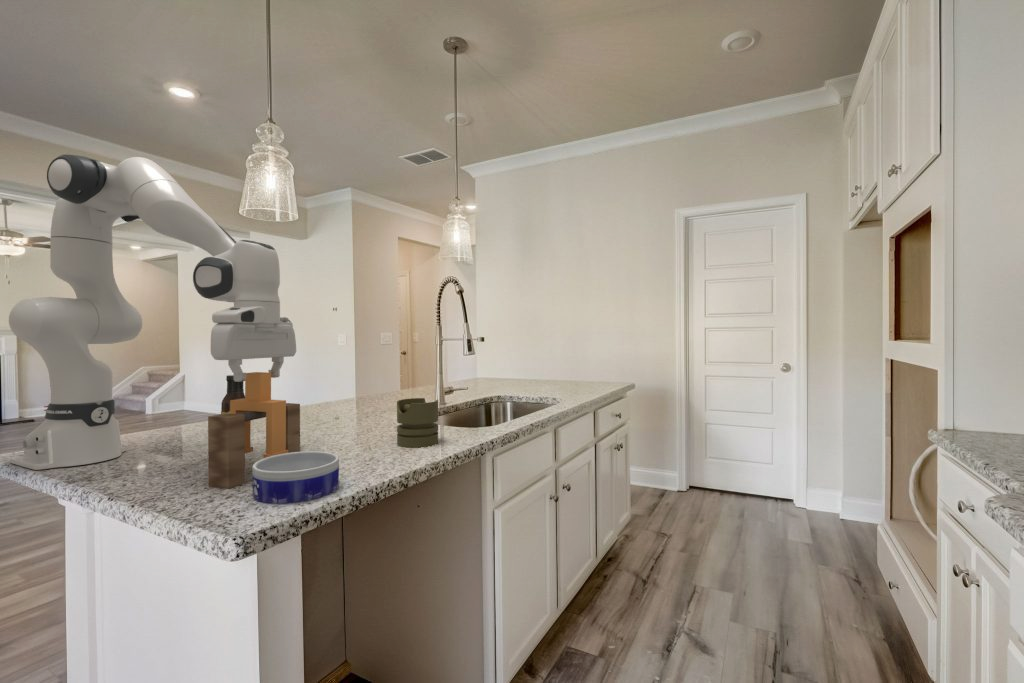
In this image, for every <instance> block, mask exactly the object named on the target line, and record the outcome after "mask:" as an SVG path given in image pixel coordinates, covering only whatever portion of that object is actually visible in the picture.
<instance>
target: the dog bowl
mask: <svg viewBox="0 0 1024 683" xmlns="http://www.w3.org/2000/svg"><path fill="white" fill-rule="evenodd" d="M251 471H252V494H253V496H252V497H253V498H254V500H255V501H257V502H260V503H263V504H270V505H272V504H273V505H274V504H275V505H285V504H296V503H304V502H309V501H312V500H317V499H321V498H323V497H326V496H328V495H330V494H332V493H334V492H336V490H338V489H339V488H338V487H339V476H340V458H339V455H337V454H336V453H333V452H328V451H320V450H319V451H318V450H317V451H314V450H311V451H310V450H309V451H308V450H307V451H306V450H305V451H300V452H292V453H285V454H279V455H274V456H270V457H267V458H264V459H263V458H261V459H259V460H257V461H255V462H254V463H253V464H252V468H251Z"/></svg>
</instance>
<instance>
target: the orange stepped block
mask: <svg viewBox="0 0 1024 683" xmlns="http://www.w3.org/2000/svg"><path fill="white" fill-rule="evenodd" d="M245 373H246V380H245V381H244V383H245V384H244V394H245V398H243V399H236V400H230V414H237V413H242V412H247V411H259V412H266V417H265V454H263V455H262V459H264V458H267V457H270V456H274V455H279V454H285V453H288V450H286V403H287V400H285V399H283V400H282V399H272V378H271V373H269V372H261V371H256V372H254V371H253V372H245ZM251 421H252V420H250V421H246V422H245V455H246V454H248V453H252V452H254V446H251Z"/></svg>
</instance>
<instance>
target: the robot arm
mask: <svg viewBox="0 0 1024 683" xmlns="http://www.w3.org/2000/svg"><path fill="white" fill-rule="evenodd" d="M46 180H47V184H48V186H49V188H50V191H52V193H53V194H54V195H55V196H57V197H58V199H57V201H56V203H55V205H54V206H55V207H54V210H53V212H52V219H51V226H50V247H49V248H50V260H49V261H50V263H49V264H50V270H51V272H52V273H53V274H54V276H56V277H57V278H58V279H59V280H62V281H63V282H66V283H67V284H68V285H69V286H71V288H72V289H73V291H74V293H75V297H76V298H71V297H59V296H58V297H56V296H43V297H34V298H33V297H32V298H24V299H22V300H20V301H19V302H17V303H16V304H15V305H14V306H13V307H12V308H11V309H10V312H9V315H8V326H9V328H10V330H11V332H12V333H13V335H14V336H16V338H18V339H19V340H21V341H22V342H24V343H26V344H27V345H29V346H31V347H32V348H33V349H34V350H35V351H36V352H37V353H38V354H39V355H40V357H41V358H42V360H43V361H44V363H45V366H46V368H47V371H48V376H49V377H48V378H49V388H50V389H49V390H50V391H49V392H50V403H49V404H48V405H45V406H43V408H46V409H44V410H43V411H44V412H45V415H44V419H45V420H44V421H43V422H41V423H40V424H39V425H38V426H37V427H35V429H33V430H32V431H31V432H29V434H27V435H26V436H25V439H23V441H22V449H23V454H21V455H17V456H14V457H11V458H10V459H9V464H13V465H16V466H20V467H23V468H27V469H31V470H34V471H36V470H37V471H39V470H46V469H54V468H65V467H75V466H76V467H77V466H81V465H82V466H83V465H90V464H96V463H100V462H105V461H109V460H112V459H116V458H119V457H121V456H122V453H124V452H126V447H125V446H122V438H121V431H120V423H119V420H118V419H116V418H115V416H114V414H115V413H116V404H115V399H113V371H112V369H111V367H110V366H109V365H108V364H106V363H105V362H103V361H102V360H98V359H96V358H95V357H94V356H93V355H92V354H91V352H90V350H89V346H88V345H109V344H110V345H113V344H119V343H123V342H128V341H132V340H134V339H136V338H137V337H138V336H139V335H140V333H141V331H142V329H143V318H142V315H141V313H140V311H139V310H138V309H137V308H136V307H135V306H134V305H132V304H131V303H130V302H129V301H127V299H126V298H125V297H124V295H123V294H122V292H121V290H120V289H119V287H118V284H117V282H116V279H115V274H114V263H113V262H114V261H113V260H114V259H113V225H114V223H115V222H116V221H117V220H118V219H119V218H121V220H123V221H124V222H126V223H130V222H134V221H136V220H141V221H142V222H144V223H145V224H146V225H147V226H148V227H149V228H150V229H152V230H153V231H154V232H156V233H158V234H160V235H163V236H166V237H169V238H172V239H175V240H179V241H182V242H185V243H188V244H190V245H193V246H195V247H198V248H199V249H202V250H203V251H206V252H207V253H208V254H210V256H206V257H203V259H201V260H200V261H199V262H198V263H197V264H196V265H195V267H194V269H193V274H192V282H193V287H194V289H195V291H196V292H197V293H198V294H199V295H200V297H202V298H204V299H208V300H210V301H211V300H212V301H217V302H225V303H233V306H231V307H229V308H225V309H221V310H218V311H215V312H213V313H212V316H211V320H212V322H213V324H214V325H213V326H212V329H211V331H210V355H211V356H212V358H213V359H214V360H215V361H228V366H229V368H230V370H231V372H232V373H233V375H234V381H235V382H241V381H244V382H245V380H246V373H247V372H243V369H242V367H241V365H243V360H249V359H250V360H253V359H271V363H272V366H271V368H270V369H268V373H271V379H274V378H280V373H281V371H280V370H281V368H282V366H283V365H284V361H285V360H284V359H285V358H287V357H294V356H295V355H296V353H297V342H296V341H297V340H296V334H295V330H294V325H293V322H292V321H291V320H290V319H289V318H288V317H281V300H280V297H279V288H280V284H281V272H280V271H281V270H280V262H279V261H280V260H279V256H278V252H277V250H276V249H275V248H274V247H273V246H272V245H270V244H267V243H262V242H258V241H255V240H247V239H242V240H238V241H236V240H235V239H234V238H233V237H232V236H231V235H230V233H228V231H226V230H225V229H224V228H223V227H222V226H220V225H219V224H218V223H217V222H216V221H215V220H214V219H213V218H212V217H211V216H210V215H208V214H207V213H206V212H205V211H204V210H203V209H202V207H200V206H199V205H198V204H197V203H196V201H194V199H192V197H190V195H189V194H188V193H187V192H186V191H185V190H184V188H183V187H182V186H181V185H180V184H179V182H177V180H176V179H175V178H174V177H173V176H172V175H171V174H170V173H168V171H166V169H164V168H163V167H162V166H160V165H159V164H158V163H156V162H155V161H154V160H152V159H150V158H146V157H143V156H141V157H140V156H132V157H128V158H126V159H123V160H122V161H120V163H118V165H115V164H109V163H106V162H102V161H100V160H97V159H94V158H91V157H88V156H83V155H78V154H77V155H76V154H62V155H59V156H56V157H55V158H54V159H53V160H51V162H50V163H49V165H48V168H47V170H46Z"/></svg>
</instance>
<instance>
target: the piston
mask: <svg viewBox="0 0 1024 683" xmlns="http://www.w3.org/2000/svg"><path fill="white" fill-rule="evenodd" d="M438 421H439V399H435V400H434V401H430V402H426V398H425V397H416V398H415V397H413V398H412V397H411V398H403V399H398V400H397V401H396V422H397V423H398V424H399V425H397V426H396V433H397V434H396V445H397V447H400V448H404V447H405V448H407V449H422V448H421V447H424V448H429V447H428V446H430V447H433V446H432V445H434V446H436V445H438V444H439V424H437V422H438ZM437 443H438V444H437ZM435 444H436V445H435ZM405 448H404V449H405Z"/></svg>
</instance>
